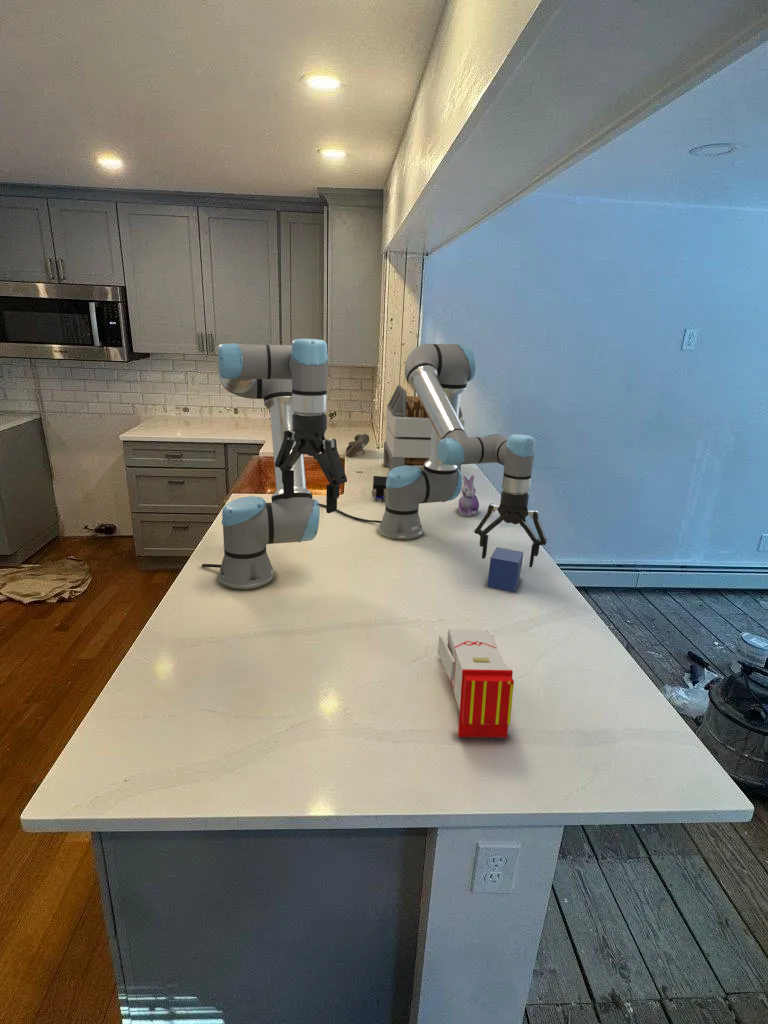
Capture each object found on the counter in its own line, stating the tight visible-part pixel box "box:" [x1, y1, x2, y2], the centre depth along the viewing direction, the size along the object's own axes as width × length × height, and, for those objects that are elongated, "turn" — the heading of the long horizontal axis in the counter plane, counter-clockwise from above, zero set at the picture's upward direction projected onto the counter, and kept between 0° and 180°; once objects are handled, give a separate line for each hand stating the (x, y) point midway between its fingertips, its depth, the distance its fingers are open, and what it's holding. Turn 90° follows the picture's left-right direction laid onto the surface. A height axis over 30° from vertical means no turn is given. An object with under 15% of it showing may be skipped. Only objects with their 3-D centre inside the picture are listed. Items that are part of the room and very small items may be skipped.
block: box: [486, 546, 524, 593], centre depth 165 cm, size 9×8×9 cm
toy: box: [437, 628, 515, 738], centre depth 117 cm, size 12×13×30 cm
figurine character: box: [371, 475, 387, 502], centre depth 236 cm, size 7×8×15 cm
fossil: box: [345, 433, 370, 458], centre depth 306 cm, size 22×10×15 cm
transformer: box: [383, 384, 465, 474], centre depth 268 cm, size 34×33×41 cm
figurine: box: [457, 474, 480, 517], centre depth 221 cm, size 9×10×15 cm
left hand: (309, 504), depth 131 cm, fingers open, 13 cm apart
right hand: (507, 561), depth 164 cm, fingers open, 13 cm apart
